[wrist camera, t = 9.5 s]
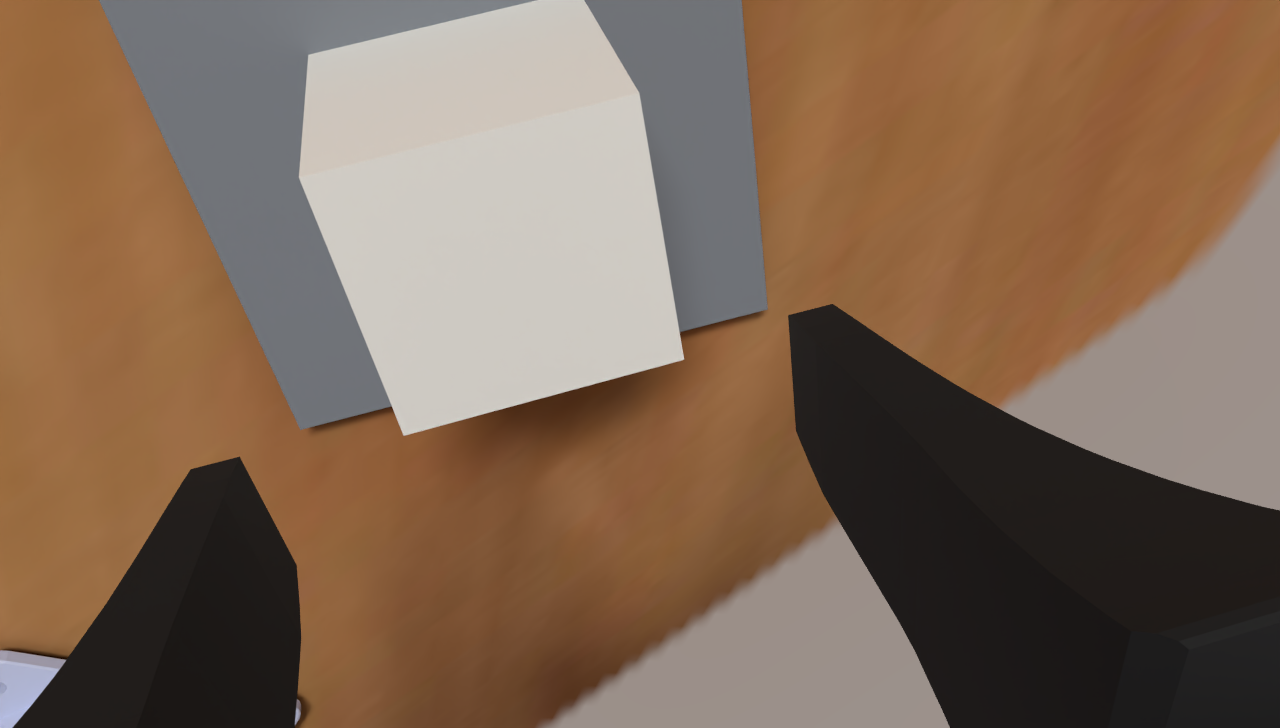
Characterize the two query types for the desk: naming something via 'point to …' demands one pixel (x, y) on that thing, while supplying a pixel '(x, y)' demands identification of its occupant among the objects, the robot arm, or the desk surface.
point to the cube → (490, 209)
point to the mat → (283, 219)
